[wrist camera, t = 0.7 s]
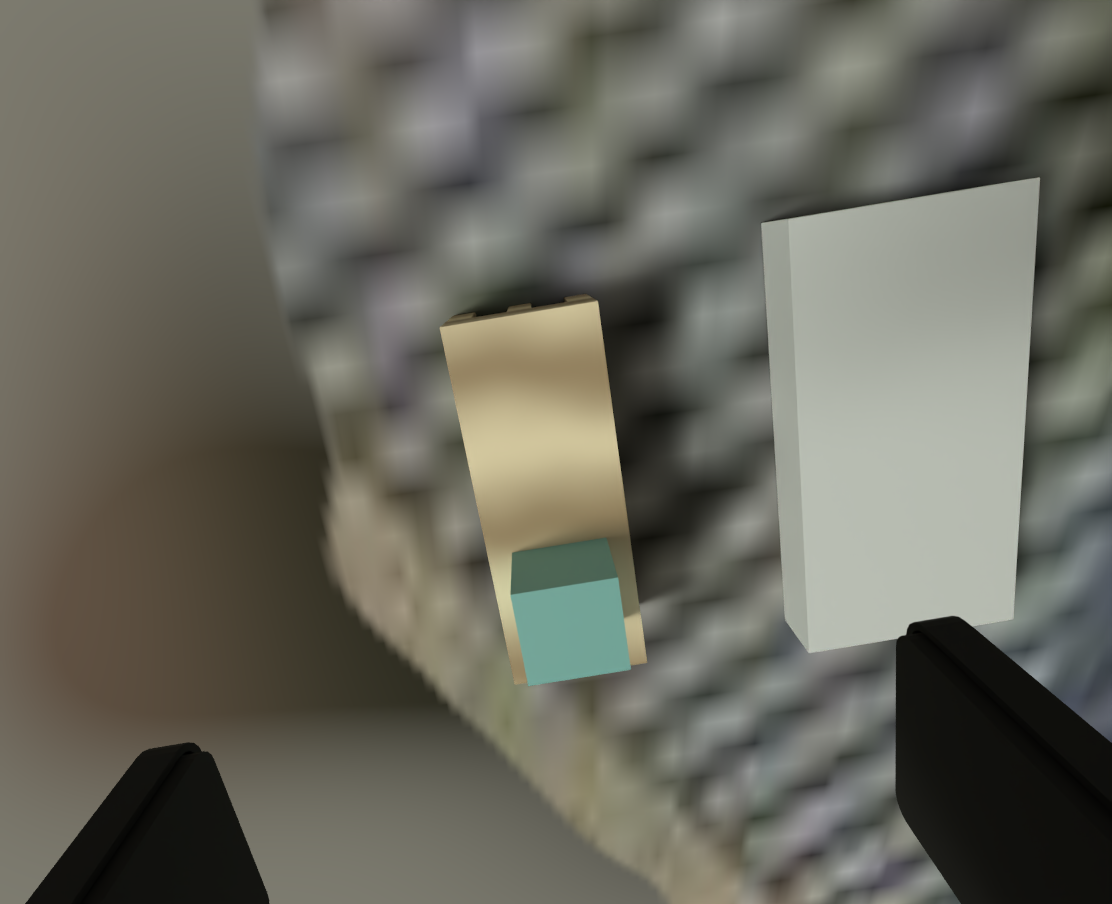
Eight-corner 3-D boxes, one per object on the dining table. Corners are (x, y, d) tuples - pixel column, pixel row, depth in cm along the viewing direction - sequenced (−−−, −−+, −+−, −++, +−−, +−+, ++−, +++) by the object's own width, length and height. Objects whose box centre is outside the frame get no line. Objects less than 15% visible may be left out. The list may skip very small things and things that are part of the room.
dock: (761, 223, 28) (788, 219, 25) (987, 185, 28) (1040, 177, 25) (785, 619, 34) (808, 653, 31) (971, 588, 34) (1013, 619, 31)
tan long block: (453, 315, 29) (439, 327, 24) (585, 293, 29) (597, 300, 24) (516, 623, 34) (514, 684, 29) (629, 604, 34) (647, 662, 29)
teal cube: (512, 552, 27) (510, 594, 24) (606, 537, 27) (617, 577, 24) (527, 634, 28) (528, 686, 25) (618, 620, 28) (631, 669, 25)
